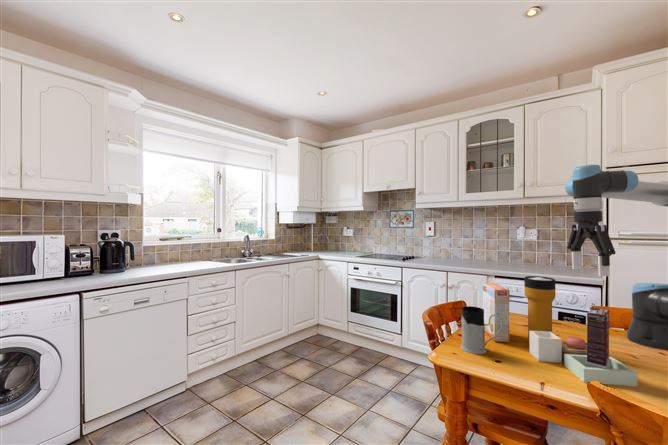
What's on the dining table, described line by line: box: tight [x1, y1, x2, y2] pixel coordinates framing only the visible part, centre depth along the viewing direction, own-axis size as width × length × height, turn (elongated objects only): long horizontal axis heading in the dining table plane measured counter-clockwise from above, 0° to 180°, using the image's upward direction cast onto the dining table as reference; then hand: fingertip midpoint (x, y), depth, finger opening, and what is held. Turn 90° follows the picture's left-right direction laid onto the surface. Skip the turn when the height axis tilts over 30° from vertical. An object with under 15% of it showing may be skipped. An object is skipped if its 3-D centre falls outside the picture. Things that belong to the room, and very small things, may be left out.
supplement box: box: [586, 307, 610, 369], centre depth 95 cm, size 9×5×16 cm, turn 135°
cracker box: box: [482, 282, 510, 343], centre depth 128 cm, size 14×6×21 cm, turn 171°
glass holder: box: [460, 305, 503, 355], centre depth 114 cm, size 9×14×15 cm, turn 67°
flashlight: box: [523, 275, 556, 342], centre depth 119 cm, size 10×26×10 cm
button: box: [566, 336, 586, 350], centre depth 106 cm, size 5×5×3 cm
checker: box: [561, 340, 587, 364], centre depth 106 cm, size 12×10×4 cm
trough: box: [563, 354, 638, 387], centre depth 95 cm, size 14×10×4 cm
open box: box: [528, 331, 563, 364], centre depth 107 cm, size 7×7×8 cm
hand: (589, 272), depth 105 cm, fingers open, 13 cm apart
